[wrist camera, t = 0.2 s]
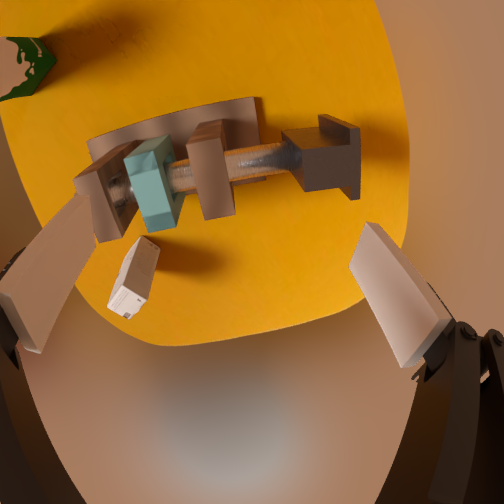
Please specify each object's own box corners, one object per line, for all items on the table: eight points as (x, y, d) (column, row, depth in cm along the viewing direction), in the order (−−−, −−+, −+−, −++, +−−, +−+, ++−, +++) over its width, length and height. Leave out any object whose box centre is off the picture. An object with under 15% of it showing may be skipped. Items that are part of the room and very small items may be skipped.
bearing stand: (113, 209, 40) (77, 265, 28) (89, 139, 33) (35, 173, 21) (264, 177, 40) (284, 226, 28) (252, 96, 33) (269, 104, 21)
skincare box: (141, 233, 43) (120, 282, 33) (162, 248, 45) (149, 299, 35) (124, 257, 45) (103, 306, 35) (144, 270, 47) (129, 321, 37)
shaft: (103, 213, 33) (75, 252, 25) (85, 165, 29) (49, 194, 21) (329, 169, 33) (360, 199, 25) (326, 114, 29) (360, 127, 21)
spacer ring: (162, 200, 34) (148, 232, 27) (145, 140, 29) (123, 159, 22) (185, 195, 34) (176, 227, 27) (169, 133, 29) (153, 150, 22)
